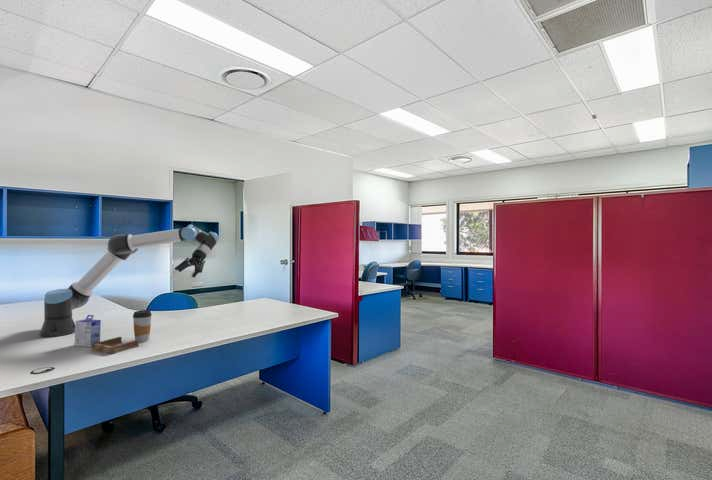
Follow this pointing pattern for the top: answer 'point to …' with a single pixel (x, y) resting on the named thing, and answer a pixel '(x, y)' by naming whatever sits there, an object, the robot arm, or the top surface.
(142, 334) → the coffee cup
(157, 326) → the top surface
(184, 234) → the robot arm
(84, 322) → the ink cartridge box
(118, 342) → the walnut bay
